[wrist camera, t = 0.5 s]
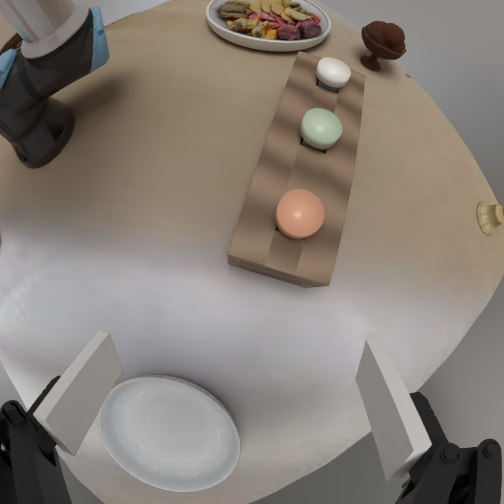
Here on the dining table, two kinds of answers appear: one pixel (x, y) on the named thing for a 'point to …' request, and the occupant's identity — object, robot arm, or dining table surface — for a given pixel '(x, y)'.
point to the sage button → (320, 129)
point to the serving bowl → (169, 433)
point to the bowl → (269, 23)
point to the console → (300, 181)
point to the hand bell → (489, 217)
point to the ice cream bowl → (382, 43)
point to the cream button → (332, 74)
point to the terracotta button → (299, 214)
